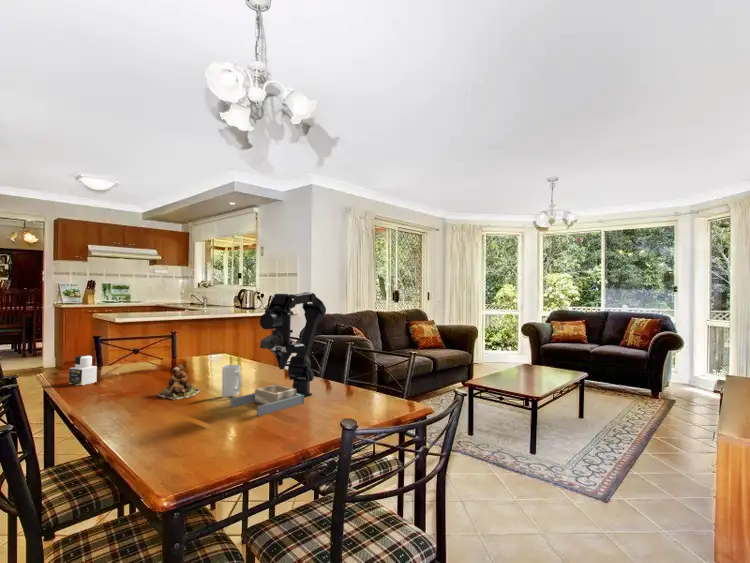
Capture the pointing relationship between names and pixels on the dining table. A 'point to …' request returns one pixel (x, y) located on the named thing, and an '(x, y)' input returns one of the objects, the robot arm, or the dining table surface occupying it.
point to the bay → (270, 406)
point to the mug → (231, 380)
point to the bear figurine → (179, 385)
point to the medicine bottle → (83, 371)
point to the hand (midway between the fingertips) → (281, 369)
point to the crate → (273, 394)
